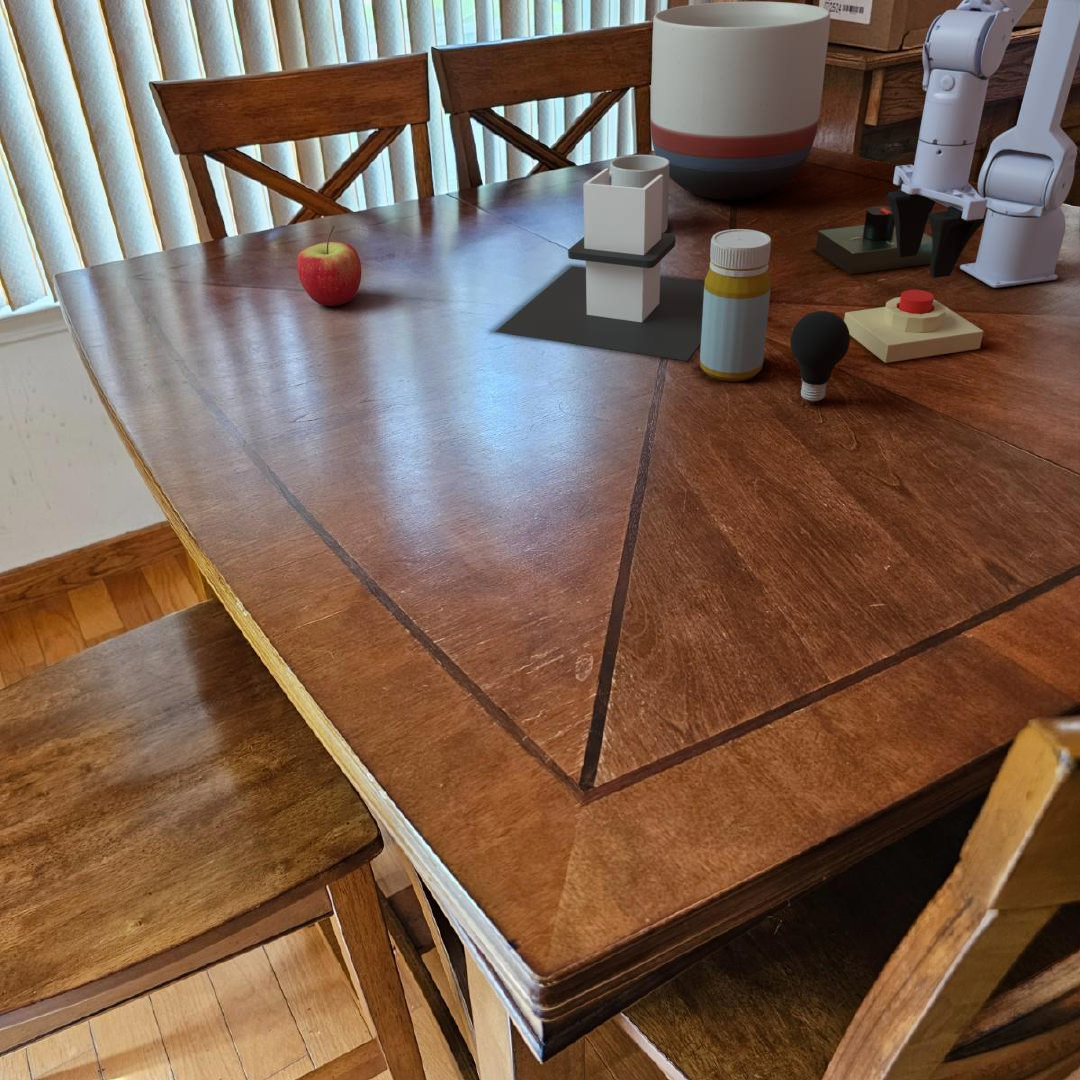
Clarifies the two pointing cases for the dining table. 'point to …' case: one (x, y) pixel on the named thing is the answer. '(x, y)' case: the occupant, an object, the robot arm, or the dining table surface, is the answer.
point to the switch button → (916, 301)
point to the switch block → (912, 332)
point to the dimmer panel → (867, 251)
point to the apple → (330, 272)
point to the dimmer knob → (879, 223)
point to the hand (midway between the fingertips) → (923, 265)
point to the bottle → (736, 305)
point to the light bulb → (818, 350)
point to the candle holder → (618, 281)
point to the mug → (642, 176)
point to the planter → (737, 93)
